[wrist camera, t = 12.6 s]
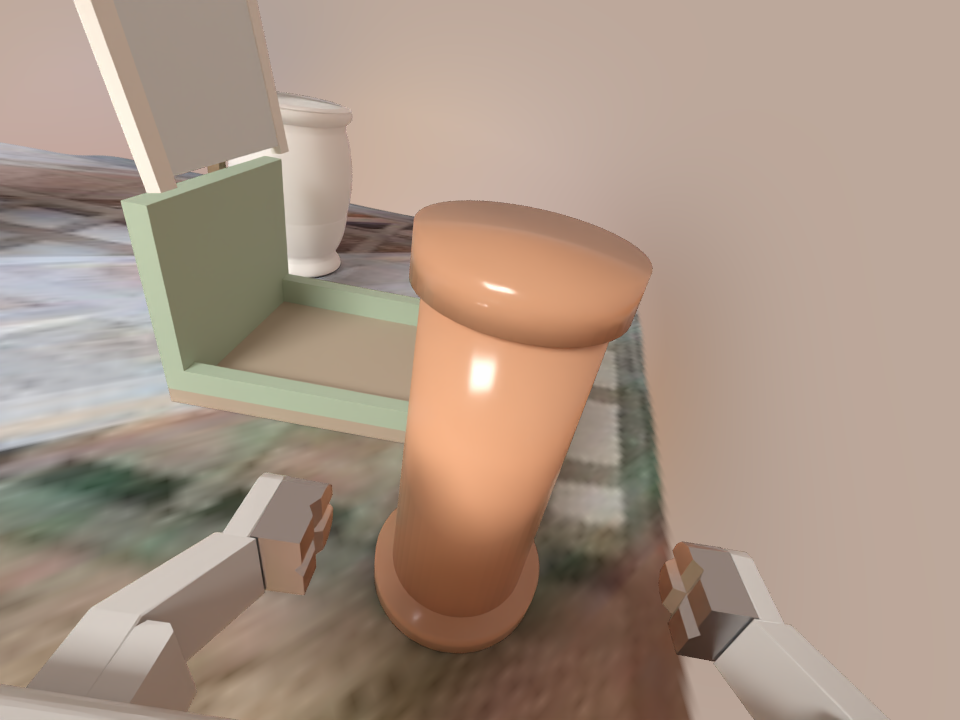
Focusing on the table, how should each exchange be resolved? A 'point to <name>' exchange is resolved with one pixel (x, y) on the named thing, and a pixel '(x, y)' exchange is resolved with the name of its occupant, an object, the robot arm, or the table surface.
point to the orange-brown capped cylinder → (498, 386)
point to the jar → (313, 181)
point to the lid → (186, 82)
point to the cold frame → (265, 311)
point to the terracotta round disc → (441, 628)
